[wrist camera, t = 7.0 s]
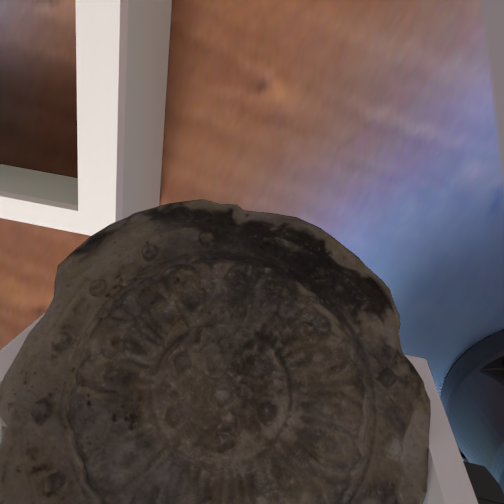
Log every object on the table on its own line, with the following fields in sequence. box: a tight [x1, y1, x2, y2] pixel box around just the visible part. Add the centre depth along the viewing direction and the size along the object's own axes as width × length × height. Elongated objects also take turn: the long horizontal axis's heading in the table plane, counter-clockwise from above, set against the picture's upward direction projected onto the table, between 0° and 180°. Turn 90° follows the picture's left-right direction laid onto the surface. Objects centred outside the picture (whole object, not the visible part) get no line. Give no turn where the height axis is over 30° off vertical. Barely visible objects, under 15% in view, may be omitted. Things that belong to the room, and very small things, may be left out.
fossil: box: [0, 200, 431, 504], centre depth 13 cm, size 11×9×10 cm
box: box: [0, 0, 172, 236], centre depth 29 cm, size 19×19×8 cm
